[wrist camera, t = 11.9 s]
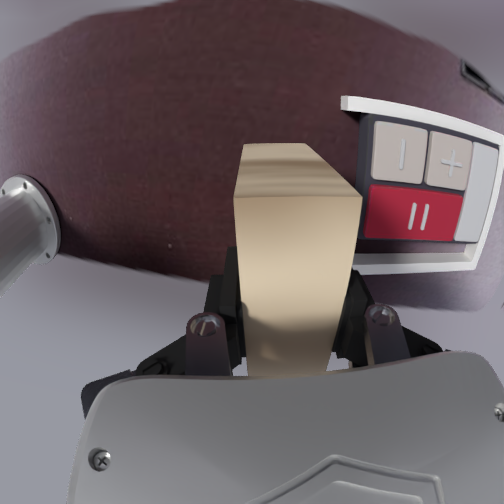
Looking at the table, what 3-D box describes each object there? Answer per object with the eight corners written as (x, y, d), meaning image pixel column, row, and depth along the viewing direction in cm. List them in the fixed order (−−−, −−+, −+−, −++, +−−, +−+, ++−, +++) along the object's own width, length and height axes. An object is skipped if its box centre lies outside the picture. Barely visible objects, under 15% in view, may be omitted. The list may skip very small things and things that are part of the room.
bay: (329, 263, 27) (332, 275, 26) (340, 95, 19) (347, 95, 17) (466, 260, 26) (474, 269, 24) (496, 132, 18) (507, 137, 16)
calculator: (371, 113, 16) (505, 147, 15) (356, 111, 20) (480, 138, 19) (358, 244, 22) (481, 248, 21) (348, 222, 26) (462, 229, 24)
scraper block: (243, 144, 15) (233, 197, 7) (305, 143, 15) (362, 197, 7) (251, 295, 20) (250, 403, 13) (297, 293, 20) (316, 399, 13)
